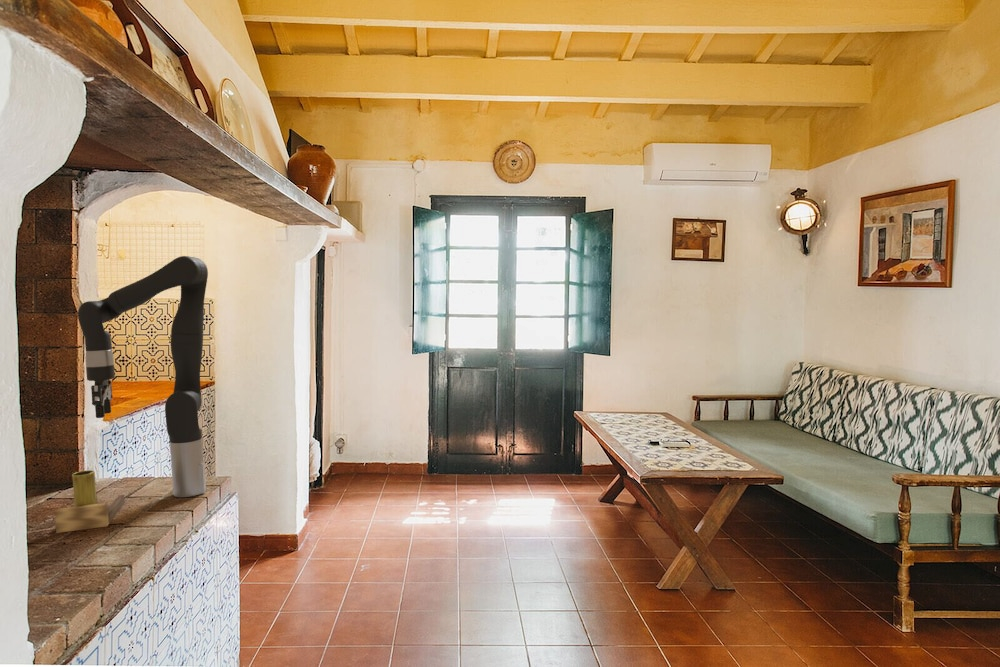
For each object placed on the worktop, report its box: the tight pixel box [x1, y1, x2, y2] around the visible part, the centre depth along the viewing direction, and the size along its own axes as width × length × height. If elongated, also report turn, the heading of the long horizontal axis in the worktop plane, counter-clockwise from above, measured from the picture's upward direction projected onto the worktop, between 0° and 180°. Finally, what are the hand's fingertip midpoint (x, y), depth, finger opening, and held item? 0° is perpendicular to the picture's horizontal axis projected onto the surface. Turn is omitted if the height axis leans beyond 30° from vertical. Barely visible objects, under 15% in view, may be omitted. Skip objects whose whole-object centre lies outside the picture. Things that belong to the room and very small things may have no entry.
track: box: [54, 494, 126, 534], centre depth 186 cm, size 12×22×6 cm, turn 19°
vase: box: [71, 469, 98, 507], centre depth 181 cm, size 6×6×14 cm
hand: (103, 415), depth 204 cm, fingers open, 8 cm apart
